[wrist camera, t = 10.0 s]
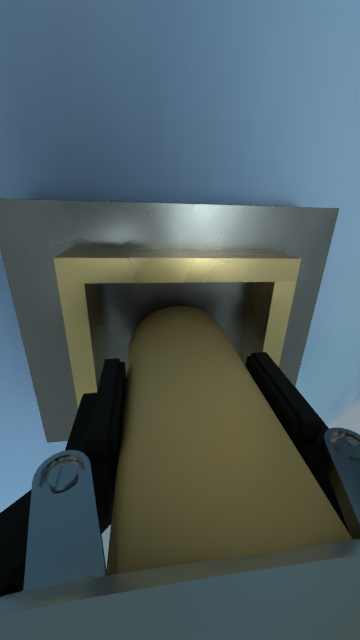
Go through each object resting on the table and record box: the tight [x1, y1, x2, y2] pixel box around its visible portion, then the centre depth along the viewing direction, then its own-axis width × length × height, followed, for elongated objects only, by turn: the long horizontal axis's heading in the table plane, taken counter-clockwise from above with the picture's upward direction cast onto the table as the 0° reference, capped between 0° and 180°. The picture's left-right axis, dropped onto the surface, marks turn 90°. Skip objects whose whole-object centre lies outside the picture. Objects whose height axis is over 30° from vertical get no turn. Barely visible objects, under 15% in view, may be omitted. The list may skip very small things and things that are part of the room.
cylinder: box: [106, 306, 353, 576], centre depth 8 cm, size 5×5×11 cm
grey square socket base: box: [0, 198, 339, 442], centre depth 16 cm, size 14×16×6 cm
